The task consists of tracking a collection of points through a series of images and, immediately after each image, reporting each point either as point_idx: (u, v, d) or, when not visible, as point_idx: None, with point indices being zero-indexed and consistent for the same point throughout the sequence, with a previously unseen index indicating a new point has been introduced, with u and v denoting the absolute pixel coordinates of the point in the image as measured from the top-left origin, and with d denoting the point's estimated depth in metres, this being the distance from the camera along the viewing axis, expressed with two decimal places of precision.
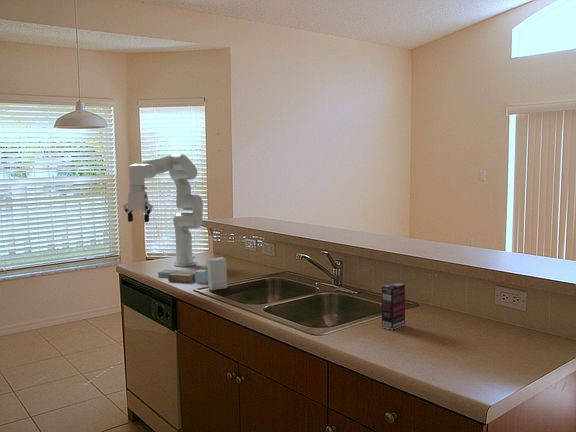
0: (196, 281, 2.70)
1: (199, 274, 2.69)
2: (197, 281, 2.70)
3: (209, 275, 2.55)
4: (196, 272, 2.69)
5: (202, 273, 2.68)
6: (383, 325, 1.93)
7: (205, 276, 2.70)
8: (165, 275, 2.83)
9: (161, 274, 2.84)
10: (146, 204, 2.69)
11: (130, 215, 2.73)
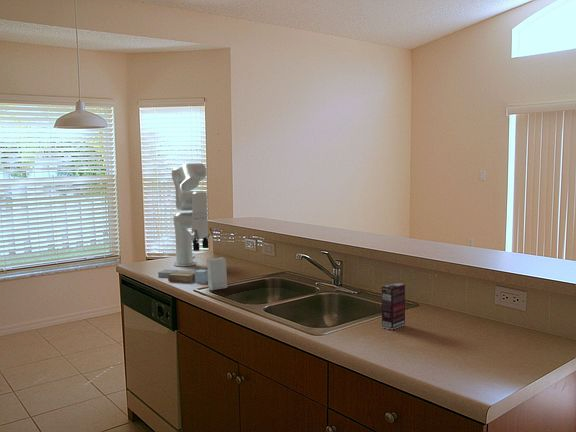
0: (196, 281, 2.70)
1: (199, 274, 2.69)
2: (197, 281, 2.70)
3: (209, 275, 2.55)
4: (196, 272, 2.69)
5: (202, 273, 2.68)
6: (383, 325, 1.93)
7: (205, 276, 2.70)
8: (165, 275, 2.83)
9: (161, 274, 2.84)
10: None
11: None
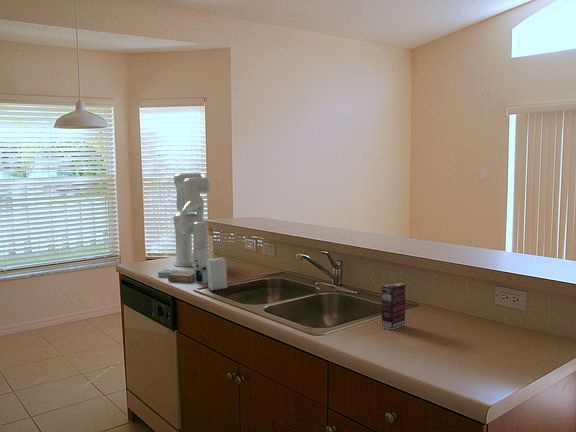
0: None
1: None
2: None
3: (209, 275, 2.55)
4: None
5: (202, 273, 2.68)
6: (383, 325, 1.93)
7: (205, 276, 2.70)
8: (165, 275, 2.83)
9: (161, 274, 2.84)
10: None
11: None
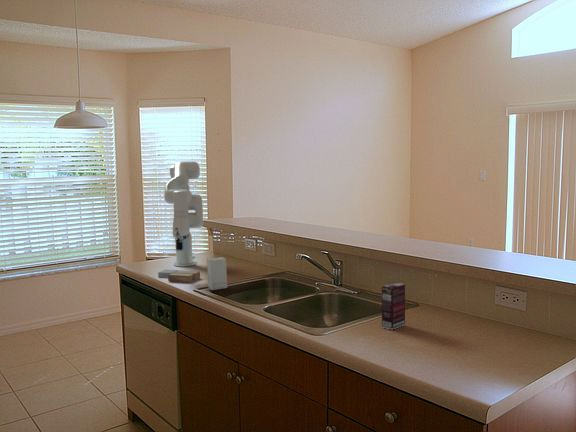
0: (176, 249, 2.74)
1: None
2: None
3: (209, 275, 2.55)
4: None
5: (182, 241, 2.72)
6: (383, 325, 1.93)
7: (185, 244, 2.74)
8: (165, 275, 2.83)
9: (161, 274, 2.84)
10: None
11: None
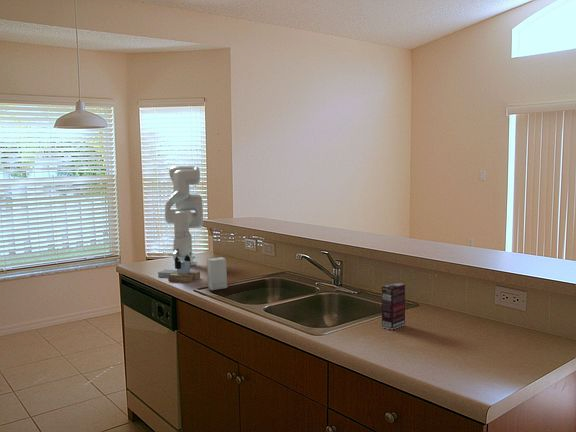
0: (178, 272, 2.75)
1: (181, 265, 2.74)
2: (179, 272, 2.75)
3: (209, 275, 2.55)
4: None
5: (184, 264, 2.74)
6: (383, 325, 1.93)
7: (187, 267, 2.75)
8: (165, 275, 2.83)
9: (161, 274, 2.84)
10: None
11: None
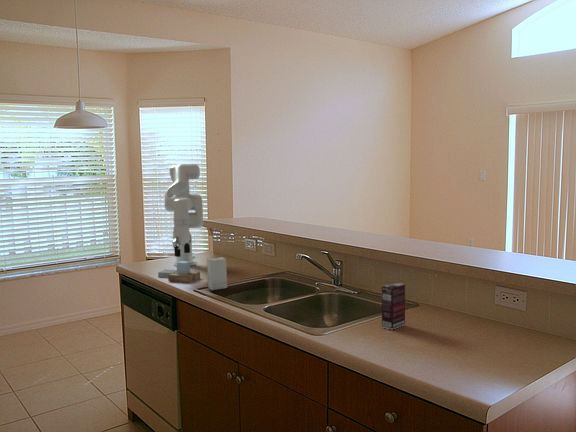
0: (178, 272, 2.75)
1: (181, 265, 2.74)
2: (179, 272, 2.75)
3: (209, 275, 2.55)
4: (178, 263, 2.74)
5: (184, 264, 2.73)
6: (383, 325, 1.93)
7: (187, 267, 2.75)
8: (165, 275, 2.83)
9: (161, 274, 2.84)
10: None
11: None
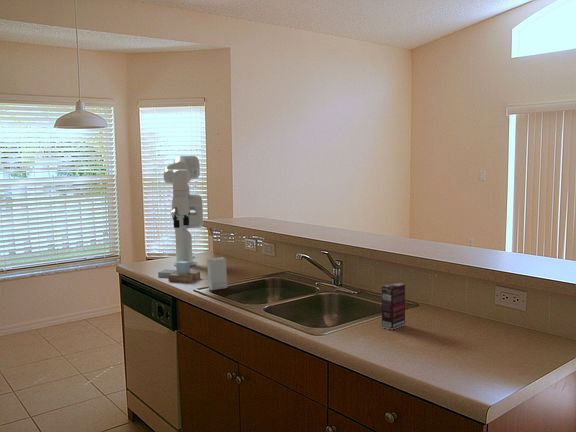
0: (178, 272, 2.75)
1: (180, 265, 2.74)
2: (179, 272, 2.74)
3: (209, 275, 2.55)
4: (177, 263, 2.74)
5: (183, 264, 2.73)
6: (383, 325, 1.93)
7: (186, 267, 2.75)
8: (165, 275, 2.83)
9: (161, 274, 2.84)
10: None
11: None
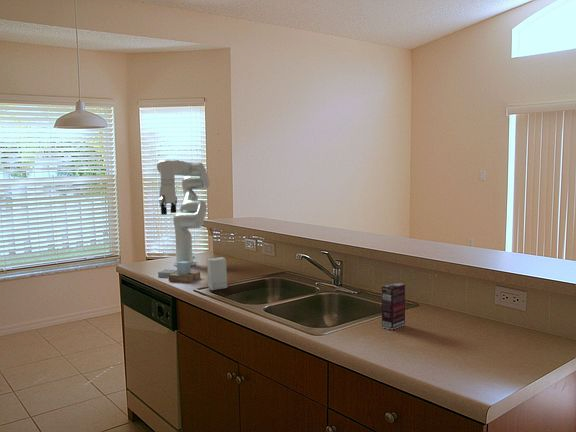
0: (178, 272, 2.75)
1: (181, 265, 2.74)
2: (179, 272, 2.74)
3: (209, 275, 2.55)
4: (178, 263, 2.74)
5: (184, 264, 2.73)
6: (383, 325, 1.93)
7: (187, 267, 2.75)
8: (165, 275, 2.83)
9: (161, 274, 2.84)
10: None
11: None
